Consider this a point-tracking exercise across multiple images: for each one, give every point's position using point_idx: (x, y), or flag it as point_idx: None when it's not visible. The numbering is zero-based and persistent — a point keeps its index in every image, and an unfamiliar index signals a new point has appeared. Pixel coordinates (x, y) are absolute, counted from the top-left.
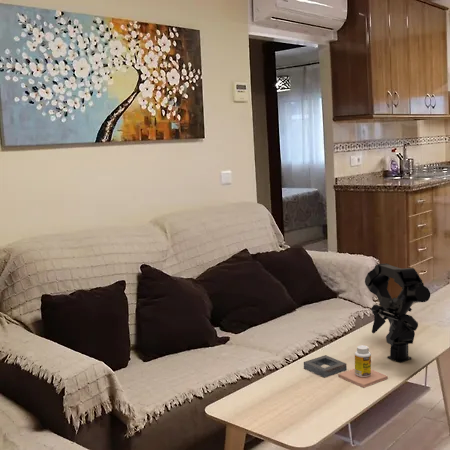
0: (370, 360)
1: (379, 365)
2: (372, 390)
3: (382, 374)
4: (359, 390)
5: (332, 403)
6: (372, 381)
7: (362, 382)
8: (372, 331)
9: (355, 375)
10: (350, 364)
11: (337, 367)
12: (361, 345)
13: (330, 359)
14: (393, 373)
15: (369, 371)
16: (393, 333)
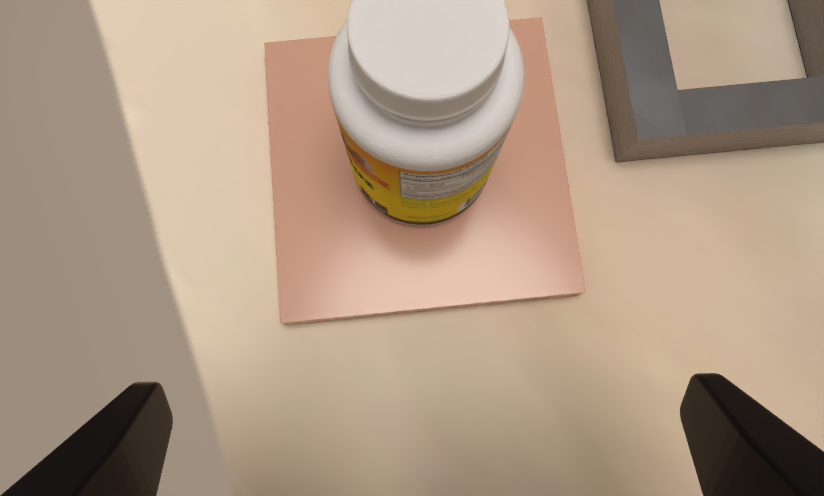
0: (346, 144)
1: (559, 482)
2: (196, 77)
3: (333, 309)
4: (253, 4)
5: None
6: (271, 139)
7: (303, 64)
8: (700, 378)
9: None
10: (708, 271)
11: (616, 40)
12: (492, 49)
13: (795, 84)
14: (344, 455)
15: (350, 164)
16: (54, 483)
